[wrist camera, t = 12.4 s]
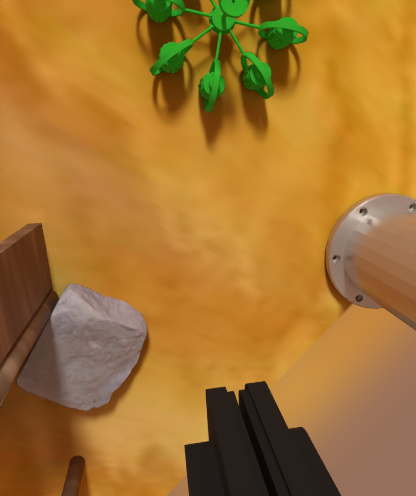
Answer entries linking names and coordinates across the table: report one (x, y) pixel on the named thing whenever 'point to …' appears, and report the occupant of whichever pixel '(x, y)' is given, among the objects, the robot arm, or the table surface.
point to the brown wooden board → (27, 313)
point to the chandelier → (222, 22)
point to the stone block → (84, 350)
